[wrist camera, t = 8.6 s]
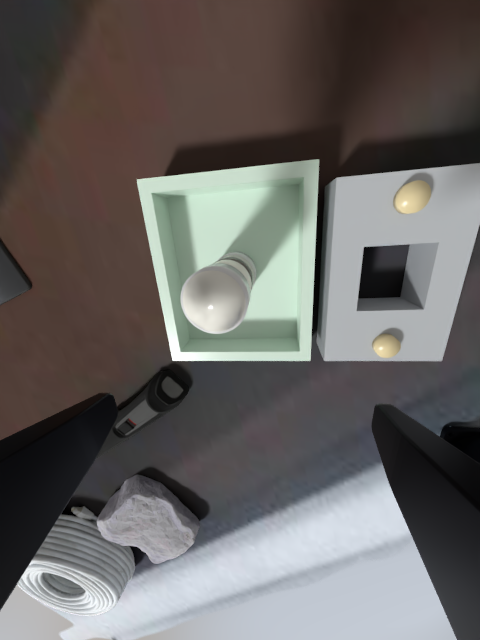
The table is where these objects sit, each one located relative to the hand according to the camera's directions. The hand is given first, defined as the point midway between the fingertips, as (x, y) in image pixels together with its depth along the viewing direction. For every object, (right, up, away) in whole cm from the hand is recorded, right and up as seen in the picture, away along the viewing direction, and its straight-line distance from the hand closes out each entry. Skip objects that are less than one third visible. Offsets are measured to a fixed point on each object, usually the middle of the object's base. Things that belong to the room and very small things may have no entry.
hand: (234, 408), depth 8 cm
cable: (-24, -33, +30) cm, 51 cm away
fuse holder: (+10, +7, +10) cm, 16 cm away
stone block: (-11, -22, +24) cm, 35 cm away
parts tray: (0, +7, +11) cm, 13 cm away
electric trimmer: (-11, -7, +18) cm, 23 cm away
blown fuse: (0, +7, +10) cm, 12 cm away
